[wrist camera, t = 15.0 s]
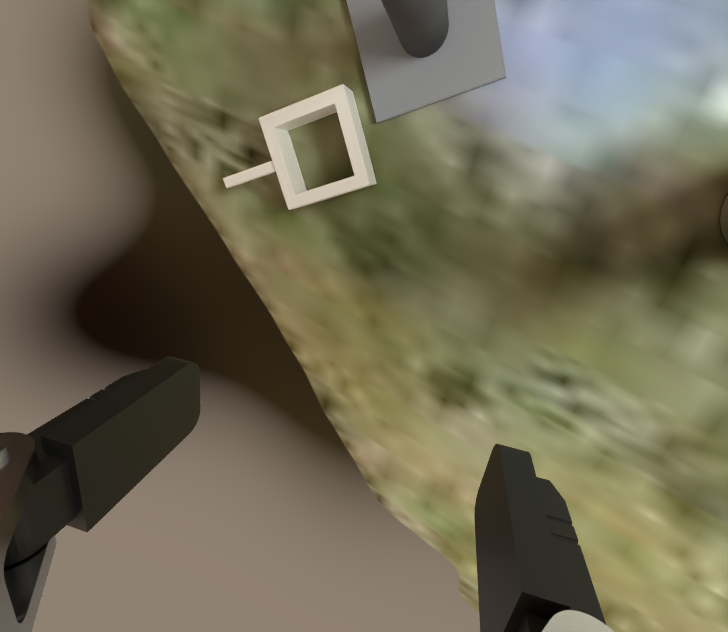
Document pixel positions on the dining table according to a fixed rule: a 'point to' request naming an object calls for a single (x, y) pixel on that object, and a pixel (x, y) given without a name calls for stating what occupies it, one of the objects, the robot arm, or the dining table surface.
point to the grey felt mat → (429, 74)
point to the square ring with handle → (285, 157)
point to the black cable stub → (419, 24)
